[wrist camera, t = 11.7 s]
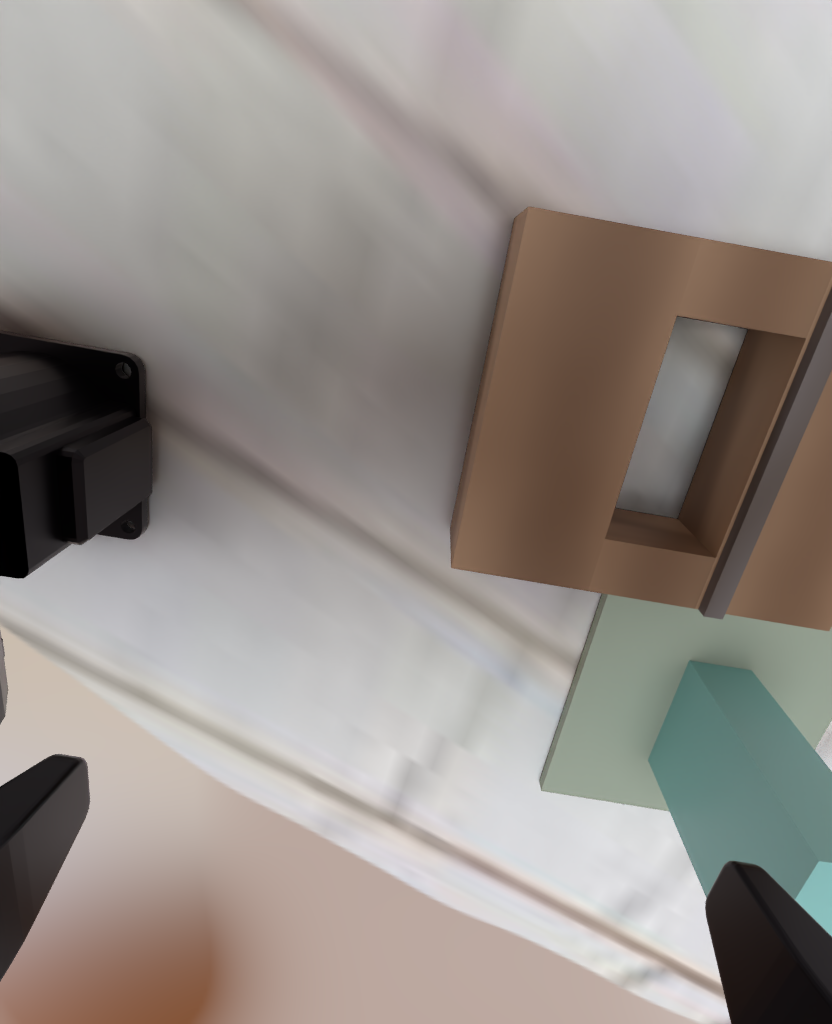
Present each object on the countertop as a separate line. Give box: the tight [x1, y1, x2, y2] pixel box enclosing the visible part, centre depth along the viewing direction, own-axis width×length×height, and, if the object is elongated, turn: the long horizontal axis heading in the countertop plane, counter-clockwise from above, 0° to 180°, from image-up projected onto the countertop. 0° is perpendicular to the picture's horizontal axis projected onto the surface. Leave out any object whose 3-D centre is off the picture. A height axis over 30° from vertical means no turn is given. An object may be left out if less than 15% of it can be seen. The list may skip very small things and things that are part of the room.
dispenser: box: [450, 207, 832, 631], centre depth 17 cm, size 12×10×3 cm
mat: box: [539, 593, 832, 811], centre depth 23 cm, size 10×10×1 cm
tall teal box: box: [648, 660, 832, 936], centre depth 19 cm, size 2×5×8 cm, turn 171°
